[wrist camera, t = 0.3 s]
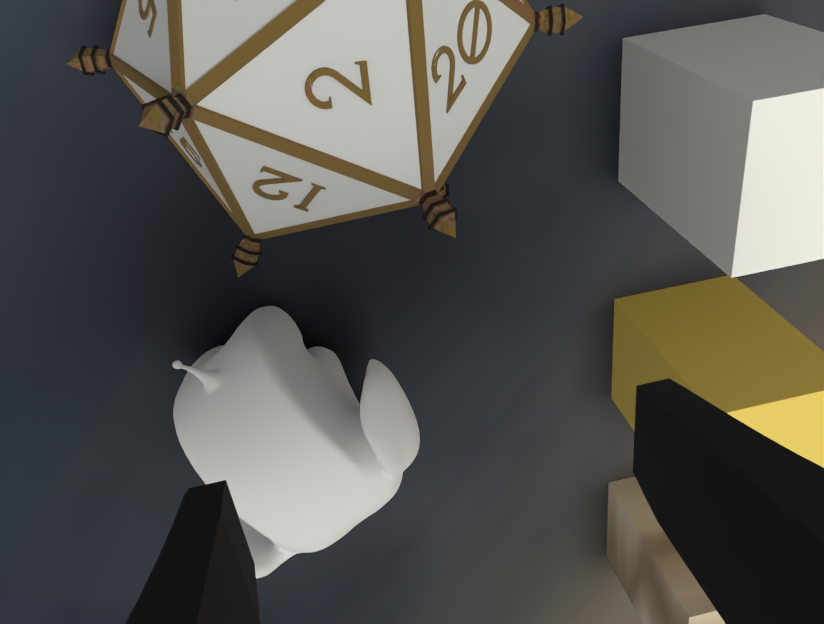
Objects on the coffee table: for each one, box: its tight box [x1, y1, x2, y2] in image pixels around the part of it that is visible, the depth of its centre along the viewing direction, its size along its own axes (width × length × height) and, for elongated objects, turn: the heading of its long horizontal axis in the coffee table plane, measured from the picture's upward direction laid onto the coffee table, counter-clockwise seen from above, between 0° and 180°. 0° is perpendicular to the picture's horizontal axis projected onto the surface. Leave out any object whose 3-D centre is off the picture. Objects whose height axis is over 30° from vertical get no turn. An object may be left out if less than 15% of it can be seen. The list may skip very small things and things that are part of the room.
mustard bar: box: [611, 276, 824, 468], centre depth 23 cm, size 4×4×6 cm
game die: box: [66, 0, 583, 278], centre depth 15 cm, size 9×8×10 cm
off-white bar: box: [618, 14, 824, 278], centre depth 19 cm, size 4×4×6 cm
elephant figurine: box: [172, 306, 420, 578], centre depth 21 cm, size 7×8×6 cm
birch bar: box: [606, 477, 725, 624], centre depth 27 cm, size 4×4×6 cm
